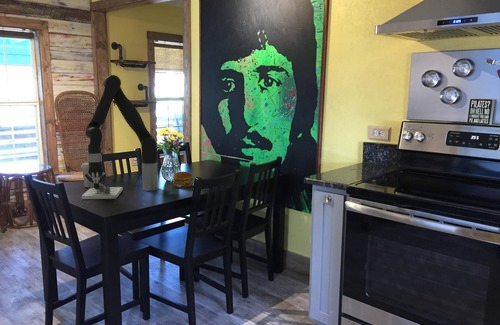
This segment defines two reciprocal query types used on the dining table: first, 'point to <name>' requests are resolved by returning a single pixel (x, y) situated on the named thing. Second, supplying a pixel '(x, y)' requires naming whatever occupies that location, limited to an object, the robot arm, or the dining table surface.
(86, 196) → the switch panel
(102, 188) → the middle switch
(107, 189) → the front switch
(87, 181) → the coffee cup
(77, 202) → the dining table surface
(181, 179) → the burger
